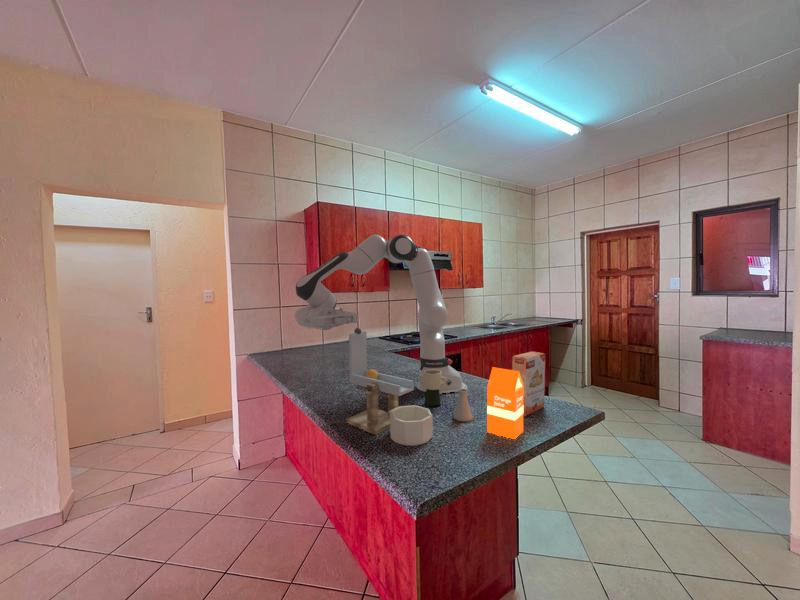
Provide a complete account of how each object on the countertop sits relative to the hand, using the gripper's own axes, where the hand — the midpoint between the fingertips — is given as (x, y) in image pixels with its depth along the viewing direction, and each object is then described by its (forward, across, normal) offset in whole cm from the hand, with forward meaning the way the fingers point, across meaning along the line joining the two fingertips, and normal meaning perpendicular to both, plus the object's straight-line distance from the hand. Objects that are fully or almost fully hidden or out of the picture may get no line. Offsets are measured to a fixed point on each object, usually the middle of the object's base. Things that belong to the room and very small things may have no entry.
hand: (347, 320), depth 114 cm
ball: (+12, 0, +18) cm, 22 cm away
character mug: (+19, +26, +34) cm, 47 cm away
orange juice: (+50, +20, +34) cm, 64 cm away
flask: (+35, +22, +34) cm, 53 cm away
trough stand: (+13, 0, +34) cm, 36 cm away
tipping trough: (+16, 0, +23) cm, 28 cm away
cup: (+29, 0, +34) cm, 44 cm away
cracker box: (+50, +43, +34) cm, 75 cm away
